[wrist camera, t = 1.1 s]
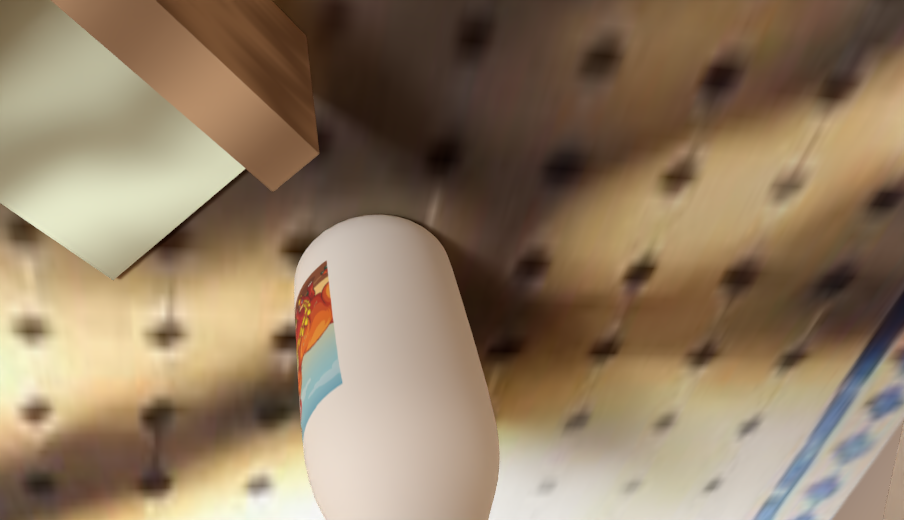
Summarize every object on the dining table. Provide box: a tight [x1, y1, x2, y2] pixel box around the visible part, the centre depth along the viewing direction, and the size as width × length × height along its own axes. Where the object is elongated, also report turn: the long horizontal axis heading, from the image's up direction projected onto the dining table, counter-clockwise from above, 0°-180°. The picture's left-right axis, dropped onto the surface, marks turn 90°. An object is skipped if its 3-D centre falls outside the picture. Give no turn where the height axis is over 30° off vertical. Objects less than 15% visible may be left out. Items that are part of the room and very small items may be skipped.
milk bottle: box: [294, 214, 499, 520], centre depth 34 cm, size 8×8×20 cm
